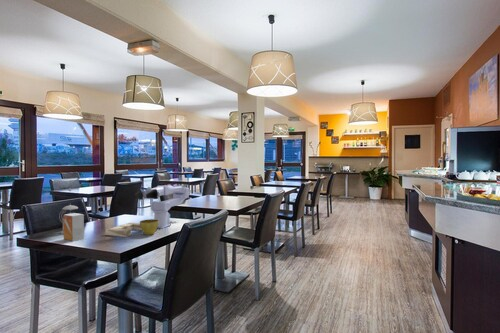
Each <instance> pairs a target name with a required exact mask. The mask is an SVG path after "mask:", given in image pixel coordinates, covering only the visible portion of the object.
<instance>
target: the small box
mask: <svg viewBox="0 0 500 333" xmlns="http://www.w3.org/2000/svg"><path fill="white" fill-rule="evenodd" d="M84 216H85V214H83V213H76V212H71V214H70V213H67V214H62V219H63V220H62V222H63V223H62V226H63V225H64V234H63V240H66V241H71V242H77V241H79V240H84V239H85V223H84V222H85V220H84V219H85V217H84Z"/></svg>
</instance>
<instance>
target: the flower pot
mask: <svg viewBox="0 0 500 333" xmlns="http://www.w3.org/2000/svg"><path fill="white" fill-rule="evenodd" d="M158 222H159V220H156V219H154V218H153V219H151V218H150V219H143V220H140V221H139V223H140V226H141V229H142V230H141V231H142V233H144V235H147V236H149V235H154V234H155V233H156V232H157V229H158V228H157V227H158Z"/></svg>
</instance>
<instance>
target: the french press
mask: <svg viewBox="0 0 500 333" xmlns="http://www.w3.org/2000/svg"><path fill="white" fill-rule="evenodd" d="M67 191H69V192H71V191H73V189H72V188H68V189H67ZM78 209H79V207H78V206H77V205H71V204H68V205H66V206H64V207H63V208H61V211H60V212H59V215H58V217H59V221H60V222H61V223H62V231H61V232H60V233H61V234H62V235H64V225H63V218H61V216H60V215H61V214H64V213H66V212H67V211H68V210H69V214H71V213H72V212H71V211H73V210H78Z"/></svg>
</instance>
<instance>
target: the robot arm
mask: <svg viewBox="0 0 500 333" xmlns="http://www.w3.org/2000/svg"><path fill="white" fill-rule="evenodd" d="M172 194H173V196H172V198H170V199H169V198H168V199H166V200H163V201H162V200H161V201H155V200H157V199H158V197H161V196H168V195H172ZM190 194H191V190H190V188H189V187H186V186H173V185H172V184H167V185H166V184H164V185H157V186H156V187H153V188H152V187H151V186H148V187H147V189H145V190H142V189H140V190H139V189H138V190H137V192H136V193H135V194H134V195H133V198H134V199H138V200H141V201H143V200H144V198H145V199H148V200H154V201H152V203H151V204H150V209H151V211H152V213H153V214H154V216H153V219H156V220H159V222H158V227H157V229H164V228H167V227H169V226H172V225H171V224H170V221H171V220H170V218H171V217H170V213H169V212H168V211H170V209H171V208H172V207H175V206H178V205H180V204H182V203H183V202H184V201H185V200H186V199H188V198H189V197H190Z"/></svg>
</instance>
